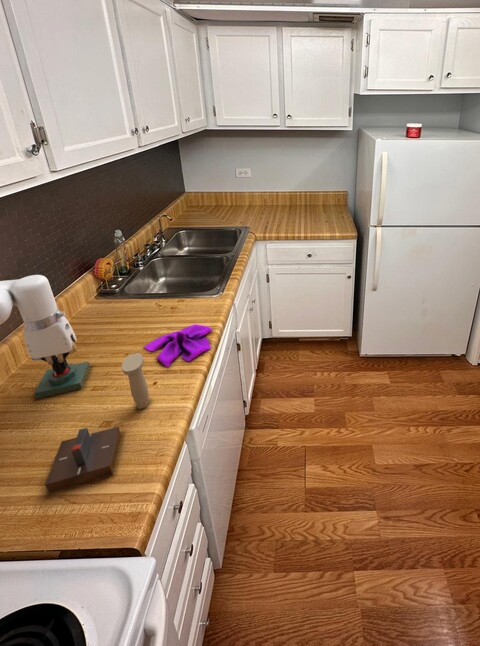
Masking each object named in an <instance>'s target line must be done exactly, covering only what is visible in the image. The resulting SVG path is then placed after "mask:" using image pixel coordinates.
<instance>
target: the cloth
mask: <svg viewBox="0 0 480 646" xmlns="http://www.w3.org/2000/svg"><path fill="white" fill-rule="evenodd" d="M212 330H213V328H211V327H209V326H207V325H202V324H192V325H190V326H187V327H185V328H183V329H181V330H177V331H173V332H171V333H168V334H164V335H162V336H160V337H157V338H156V339H153V341H151V342H150V343H148V344H146V345H144V349H145V350H147V351H149V352H155V351H157V350H159V349H161V348H163V347H164V348H163V350H161V352H160V353H159V354H158V356H157V357H156V359H157V361H159V362H160V363H161V364H162V365H164V366H165V368H166V367H167V368H169V367H170V366H171V364H172V362H173V361H175V360H176V359H177V358H179V356H180V355H181V358H182V360H184V361H187V362H191V361H192V360H194V359H196V358H197V357H198V356H200V355H202V354H203V353H205V352H207V351H208V350H210V349H211V344H210V341H209V339H207V337H206V335H207V334H209V333H211V332H212Z"/></svg>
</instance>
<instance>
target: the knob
mask: <svg viewBox="0 0 480 646" xmlns="http://www.w3.org/2000/svg"><path fill="white" fill-rule="evenodd" d="M90 434H91V433H90V431H89V429H88V427H84V428H80V429H78V433H77V435H76V437H75V438H76V441H75V444H74V447H73V449H72V454H73V457H74V459H75V462H76V464H77V466H78V465H81V464H85V462H86V459H87V456H88V452H89V449H90V446H91V442H92V440H91V437H90Z"/></svg>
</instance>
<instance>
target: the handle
mask: <svg viewBox="0 0 480 646" xmlns="http://www.w3.org/2000/svg"><path fill="white" fill-rule="evenodd" d="M144 364H145V359H144V355H142V353H140V352H135V353H131V354H129V355H127V356H126V357H125V358H124V359H123V360H122V362H121V371H122V373H123V374H124V375H126V376H127V377H128V382H129V388H130V393H131V396H132V399H133V402H134V404H135V406H136V407H137V408H138V409H139V410H141V409H144V408H147V406H148V405H149V404H150V396H149V395H150V393H149V387H148V384H147V381H146V378H145V374H144V371H143V366H144Z"/></svg>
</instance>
